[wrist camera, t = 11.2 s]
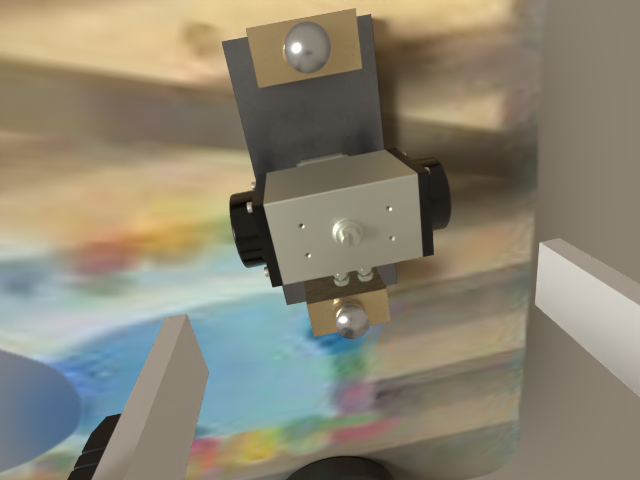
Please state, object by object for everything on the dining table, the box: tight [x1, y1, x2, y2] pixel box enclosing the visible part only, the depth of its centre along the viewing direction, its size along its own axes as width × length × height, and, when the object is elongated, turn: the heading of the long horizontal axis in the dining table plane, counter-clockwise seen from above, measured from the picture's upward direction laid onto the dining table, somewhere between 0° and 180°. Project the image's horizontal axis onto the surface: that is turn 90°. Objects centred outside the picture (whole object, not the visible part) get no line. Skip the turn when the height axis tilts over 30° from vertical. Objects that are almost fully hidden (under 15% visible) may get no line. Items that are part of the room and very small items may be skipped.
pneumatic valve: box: [229, 148, 451, 287], centre depth 24 cm, size 6×12×12 cm, turn 100°
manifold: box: [222, 8, 397, 339], centre depth 27 cm, size 21×10×8 cm, turn 10°
